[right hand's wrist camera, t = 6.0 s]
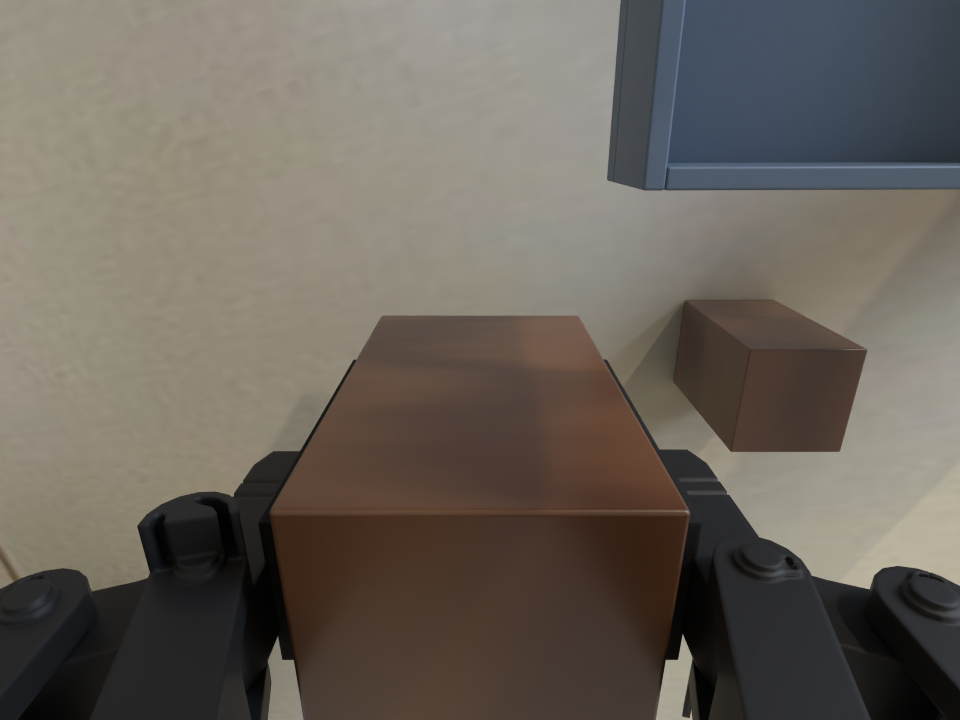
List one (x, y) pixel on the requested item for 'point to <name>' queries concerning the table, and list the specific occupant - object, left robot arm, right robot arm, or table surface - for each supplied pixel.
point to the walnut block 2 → (767, 375)
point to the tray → (787, 95)
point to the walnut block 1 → (479, 532)
